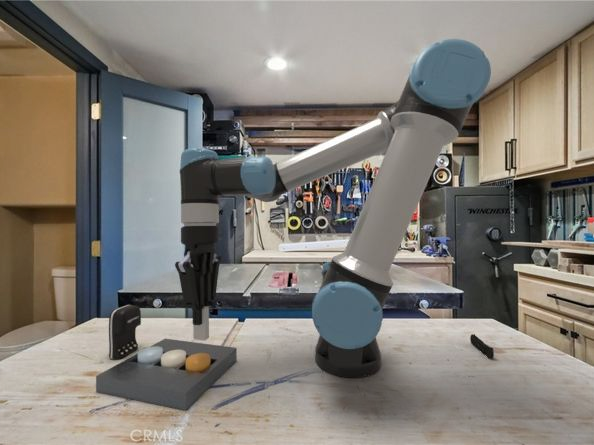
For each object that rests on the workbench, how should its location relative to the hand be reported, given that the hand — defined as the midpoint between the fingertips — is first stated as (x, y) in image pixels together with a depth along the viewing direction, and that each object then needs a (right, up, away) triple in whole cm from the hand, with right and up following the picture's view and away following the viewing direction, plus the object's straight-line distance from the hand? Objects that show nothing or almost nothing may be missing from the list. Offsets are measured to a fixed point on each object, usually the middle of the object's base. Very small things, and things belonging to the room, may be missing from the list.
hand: (201, 338), depth 57 cm
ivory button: (-6, -6, +1) cm, 9 cm away
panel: (-6, -8, +1) cm, 10 cm away
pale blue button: (-12, -6, +3) cm, 14 cm away
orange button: (0, -6, 0) cm, 6 cm away
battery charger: (-22, -9, +11) cm, 26 cm away
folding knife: (+66, -9, +12) cm, 68 cm away
